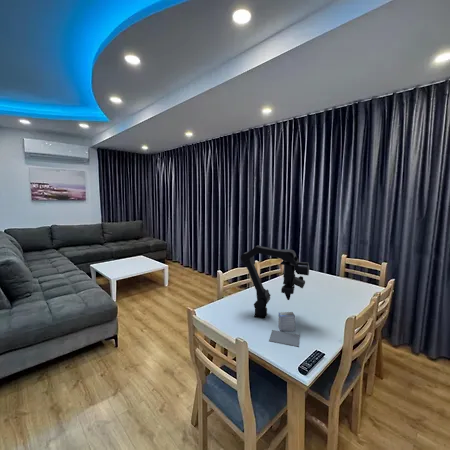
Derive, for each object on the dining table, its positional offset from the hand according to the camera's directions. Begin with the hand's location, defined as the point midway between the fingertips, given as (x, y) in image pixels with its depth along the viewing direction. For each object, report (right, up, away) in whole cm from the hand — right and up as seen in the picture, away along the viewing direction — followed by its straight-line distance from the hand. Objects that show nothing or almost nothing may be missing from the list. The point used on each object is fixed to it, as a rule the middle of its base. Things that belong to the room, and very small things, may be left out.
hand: (288, 299), depth 135 cm
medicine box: (-3, -14, -6) cm, 16 cm away
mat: (-6, -15, -14) cm, 21 cm away
